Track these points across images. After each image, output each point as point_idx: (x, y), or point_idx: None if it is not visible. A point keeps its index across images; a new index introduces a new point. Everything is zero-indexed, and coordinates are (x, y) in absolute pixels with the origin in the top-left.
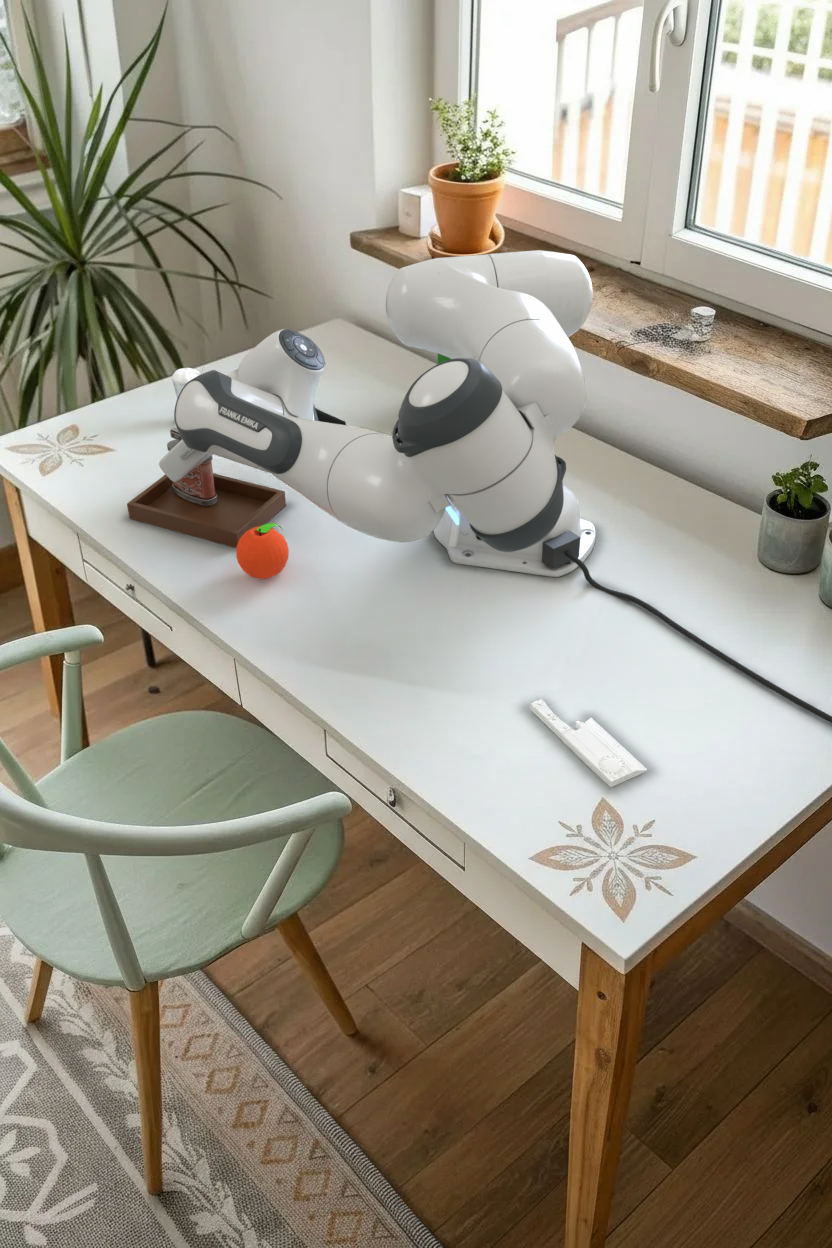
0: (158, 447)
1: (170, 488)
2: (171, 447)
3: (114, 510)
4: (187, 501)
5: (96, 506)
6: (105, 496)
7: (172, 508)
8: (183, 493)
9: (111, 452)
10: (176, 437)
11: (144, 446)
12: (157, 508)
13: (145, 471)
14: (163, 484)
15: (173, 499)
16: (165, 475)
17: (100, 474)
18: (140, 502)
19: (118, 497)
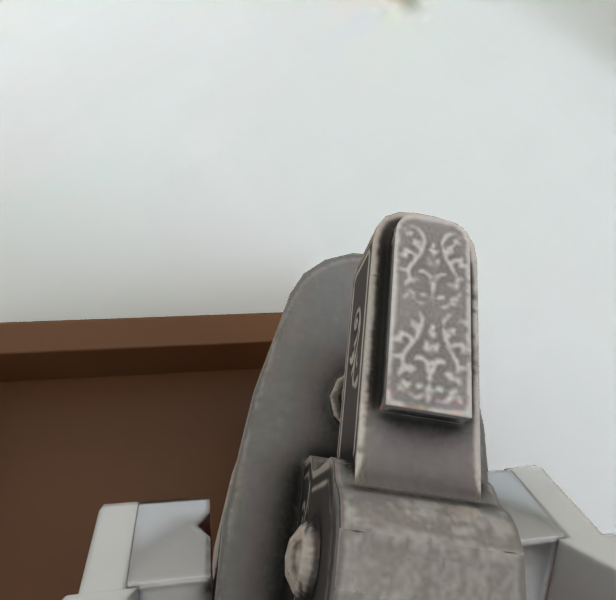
0: (532, 114)
1: None
2: (285, 340)
3: (3, 250)
4: None
5: (7, 165)
6: (103, 150)
7: None
8: (221, 521)
9: (396, 5)
10: (351, 351)
11: (502, 71)
12: (70, 446)
13: (363, 172)
14: (238, 352)
15: (198, 460)
16: None
17: (247, 49)
18: (2, 364)
19: (120, 199)
